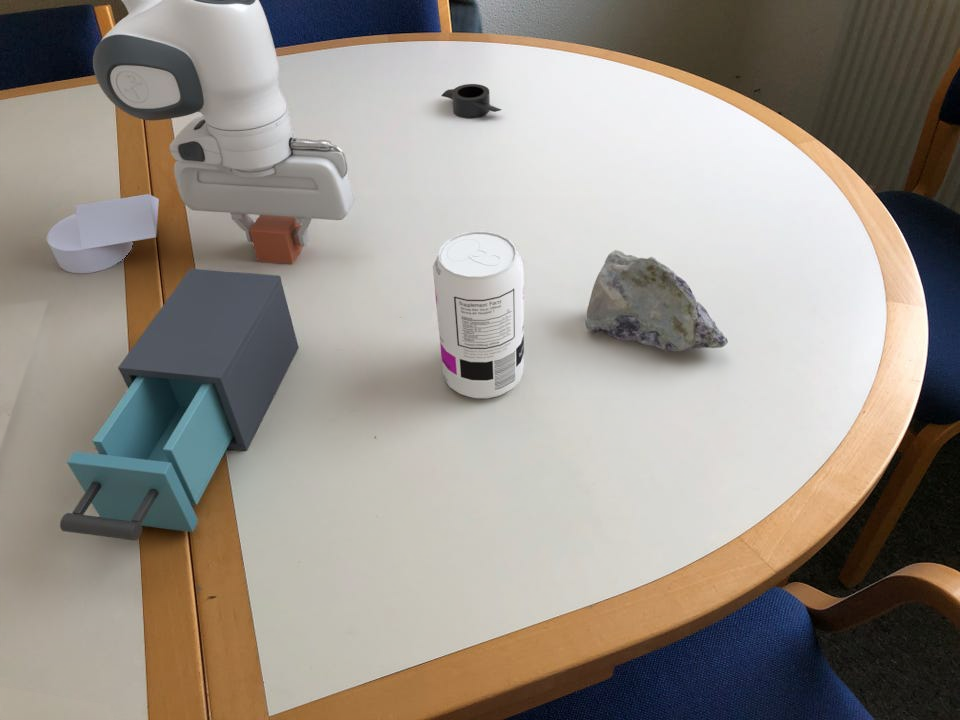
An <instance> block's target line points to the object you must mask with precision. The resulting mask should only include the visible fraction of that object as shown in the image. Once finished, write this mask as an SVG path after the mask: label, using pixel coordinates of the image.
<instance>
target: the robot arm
mask: <svg viewBox="0 0 960 720" xmlns="http://www.w3.org/2000/svg"><path fill="white" fill-rule="evenodd" d="M120 1H121V2H122V3H123V5H124V6H125V8H126V11H127V13H128V14H127V15H126V16H124V17H123V18H122V19H121V20H119V21H118V22H117V23H116V24H115V25H114V26H113V27H112V28H110V30H109V31H108V32H106V34H105V35H104V36H103V37H102V38H101V40H100V41H99V42H98V43H97V45H96V47H95V48H94V51H93V55H92V67H93V72H94V76H95V78H96V81H97V83H98V85H99V87H100V89H101V90H102V92H103V93H104V96H106V97H107V98H108V100H109V101H110V102H111V103H112V104H113V105H115V106H116V107H117V108H118V109H120V110H121V111H122V112H124V113H125V114H127V115H129V116H131V117H134V118H137V119H138V120H142V121H143V120H144V121H153V122H154V121H162V120H170V119H176V118H183V117H186V116H189V115H193V114H196V113H200V114H201V115H202V116H201V115H200V116H198V117H196V118H193V119H192V120H191V121H190V122H189V123H187V124H186V125H185V126H184V127H183V128H182V129H181V130H180V131H179V132H178V134H177V135H175V137H174V138H173V140H172V141H171V143H169V151H170V154H171V156H172V158H173V159H174V160H176V161H175V162H174V166H173V173H174V178H175V182H176V186H177V190H178V192H179V196H180V199H181V201H182V203H183V204H184V205H185V206H186V207H187V208H189V209H190V210H191V211H195V212H196V211H197V212H211V213H212V212H213V213H229V214H230V216H231V220H232V221H233V222H234V223H235V224H236V225H237V226H238V227H239V228H240V229H241V230H242V231H243V232H244V233H245V237H246V240H247V242H248V243H253V242H252V238H251V235H250V229H251V228H252V226H253V225H254V223H255V222H256V221H254V220H253V218H252V216H250V215H255V216H256V215H257V216H260V215H269V216H284V217H295V219H296V223H298V224H301V226H296V227H295V229H294V231H293V232H292V234H291V236H292V240H293V244H294V245H300V246H303V247H306V246H307V245H308V243H309V241H310V235H309V230H308V228H309V225H310V223H311V221H312V219H315V220H331V221H342V220H344V219H345V218H346V217H347V215H348V214H349V213H350V211H351V209H352V208H353V205H354V202H355V197H354V191H353V187H352V183H351V180H350V177H349V175H348V162H347V156H346V154H345V151H344V150H343V149H342V148H340V147H339V146H338V145H335V144H333V143H332V142H331V141H330V140H326V139H318V140H313V139H309V138H295V135H294V131H293V126H292V121H291V117H290V116H291V115H290V112H289V107H288V102H287V100H286V97H285V95H284V94H283V92H282V91H281V87H280V82H279V77H280V76H279V74H280V65H279V60H278V56H277V55H278V54H277V51H276V47H275V44H274V40H273V36H272V31H271V29H270V26H269V25H270V24H269V22H268V19H267V16H266V14H265V11H264V8H263V6H262V4H261V2H260V0H120Z"/></svg>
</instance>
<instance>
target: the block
mask: <svg viewBox="0 0 960 720" xmlns="http://www.w3.org/2000/svg"><path fill="white" fill-rule="evenodd" d="M254 222H255V223H254V225H253V226H252V228H251V229H250V235H251V238H252V242H251V243H252V246H253V249H254V252H255V256H256V261H257V262H258V263H270V264H271V263H273V264H287V265H293V264H294V263H295V261H296V260H297V257H298V256H299V255H300V252H301V250H302V249H303V248H304V246H300V245H294V244H293V240H292V236H291V234H292V232H293V231H294V229H295V227H296V226H301V224H298V223H296V219H295V217H284V216H269V215H258V217H257V218H256V220H255V221H254Z"/></svg>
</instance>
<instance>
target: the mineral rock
mask: <svg viewBox="0 0 960 720" xmlns="http://www.w3.org/2000/svg"><path fill="white" fill-rule="evenodd" d="M597 274H598V275H597V276H596V279H595V281H594V284H593V287H592V290H591V293H590V294H591V295H590V299H589V302H588V304H587V309H586V318H585V328H586V330H587V331H588V332H590V333H592V334H600V333H604V334H607V335H608V336H611V337H615V338H616V339H617V340H622V341H630V342H631V341H635V342H636V343H639V344H641V345H644V346H653V347H655V348H658V349H660V350H662V351H665V352H680V351H685V350H695V349H705V348H707V349H708V348H709V349H719V348H724V347H726V346H727V344H729V342H728V341H729V340H728V338H727V337H726V336H725V334H724V333H723V332H722V331H721V330H720V329H719V328H718V327H717V325H716V322H715V321H714V320H713V319H712V317H711V316H710V314H709V312H708V310H707V309H705V307H704V306H703V305H702V304H701V302H699V301H697V299H696V297H695V295H694V293H693V291H692V289H691V287H690V285H688V283H687V281H685V280H684V279H683V278H682V277H680V276H678V275H677V274H676V272H674V271H673V270H671V268H670V267H668V266H666V265H665V264H664V263H661V262H660V261H658V260H657V259H656V258H655V257H653V256H650V257H647V258H645V257H637V256H635V255H632V254H628V255H627V254H625V253H624V252H623V251H621V250H618V249H615V250H612V251H611V252H610V253H608V255H607V257H606V258H605V260H604V264H603V265H602V267H601V268H600V271H599V273H597Z"/></svg>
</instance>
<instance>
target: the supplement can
mask: <svg viewBox="0 0 960 720" xmlns="http://www.w3.org/2000/svg"><path fill="white" fill-rule="evenodd" d="M437 254H438V255H437V257H436V259H435V261H434V263H433V265H432V273H433V275H432V276H433V281H434V282H433V283H434V284H433V285H434V296H435V305H436V315H437V323H438V324H437V325H438V326H437V327H438V335H439V336H438V337H439V347H440V357H441V367H442V375H443V377H442V378H443V379H444V381H445V382H446V384H447V385H448V387H449V388H451V389H452V390H453V391H455V392H456V393H457V394H459V395H462V396H466V397H469V398H473V399H486V400H487V399H491V398H495V397H500V396H501V395H503V394H505V393H507V392H509V391H511V390H513V389H514V388H515V387H516V386H517V385H518V384H519V382H520V381H521V380H522V377H523V373H524V371H525V328H524V327H525V316H524V315H525V291H524V290H525V266H524V262H523V259H522V257H521V255H520V254H519V252H518V251H517V248H516V245H515V244H514V243H513V242H512V241H511V240H510V239H509V238H508V237H505V236H504V235H501V234H499V233H497V232H491V231H487V230H483V231H482V230H480V231H479V230H478V231H477V230H473V231H467V232H463V233H459V234H456V235H454V236H452V237H450V238H448V239H447V240H446V241H445V242H444V243H443V244H442V245H441V246H440V248H439V251H438V253H437Z"/></svg>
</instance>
